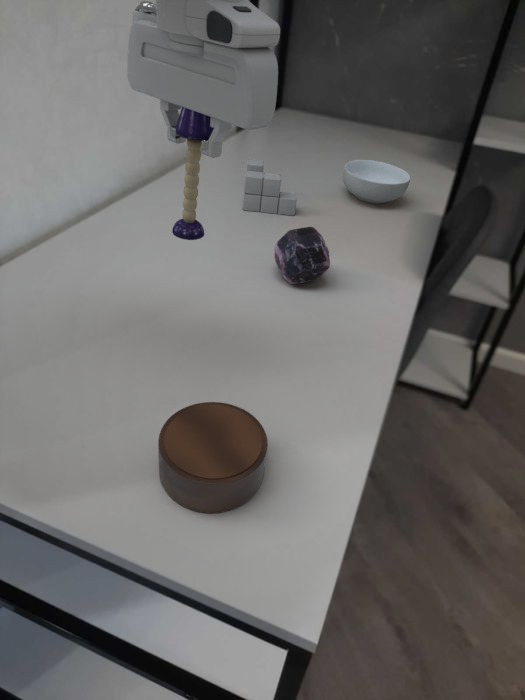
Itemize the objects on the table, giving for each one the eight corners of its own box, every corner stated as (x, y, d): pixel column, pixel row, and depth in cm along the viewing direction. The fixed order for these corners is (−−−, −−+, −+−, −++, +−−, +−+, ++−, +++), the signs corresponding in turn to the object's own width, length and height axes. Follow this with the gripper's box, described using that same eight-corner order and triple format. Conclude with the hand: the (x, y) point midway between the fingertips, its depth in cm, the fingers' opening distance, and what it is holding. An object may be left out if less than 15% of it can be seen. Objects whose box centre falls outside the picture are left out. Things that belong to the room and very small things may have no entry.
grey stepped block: (294, 215, 120) (299, 182, 115) (242, 210, 120) (245, 176, 115) (292, 196, 130) (297, 164, 125) (245, 191, 129) (247, 158, 124)
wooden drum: (213, 534, 54) (215, 504, 51) (137, 469, 59) (134, 438, 56) (283, 468, 61) (289, 438, 58) (210, 416, 67) (212, 386, 64)
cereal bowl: (373, 215, 125) (380, 187, 121) (325, 191, 135) (330, 164, 130) (416, 204, 134) (424, 177, 130) (369, 182, 144) (375, 156, 140)
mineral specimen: (330, 288, 92) (316, 236, 87) (275, 295, 96) (259, 246, 91) (339, 263, 99) (327, 214, 94) (288, 270, 104) (274, 224, 98)
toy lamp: (193, 223, 72) (199, 92, 62) (216, 236, 70) (225, 102, 60) (165, 231, 69) (166, 94, 59) (187, 244, 67) (192, 105, 57)
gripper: (110, -4, 57) (117, 129, 65) (253, 30, 48) (239, 179, 56) (154, -2, 61) (155, 123, 69) (294, 30, 52) (275, 169, 60)
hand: (194, 148), depth 63 cm, fingers closed on toy lamp, 4 cm apart
